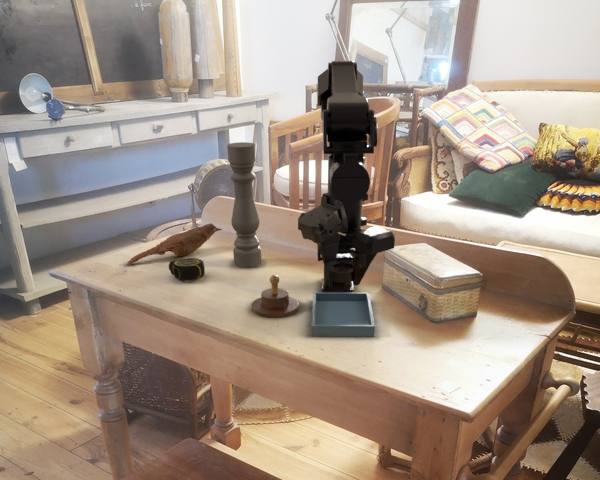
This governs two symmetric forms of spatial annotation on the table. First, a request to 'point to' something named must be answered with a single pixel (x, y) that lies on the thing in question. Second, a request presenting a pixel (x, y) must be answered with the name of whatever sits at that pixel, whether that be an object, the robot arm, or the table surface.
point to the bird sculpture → (181, 242)
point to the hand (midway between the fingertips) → (342, 278)
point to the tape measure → (187, 269)
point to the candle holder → (244, 205)
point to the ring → (339, 271)
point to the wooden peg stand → (275, 302)
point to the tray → (342, 314)
